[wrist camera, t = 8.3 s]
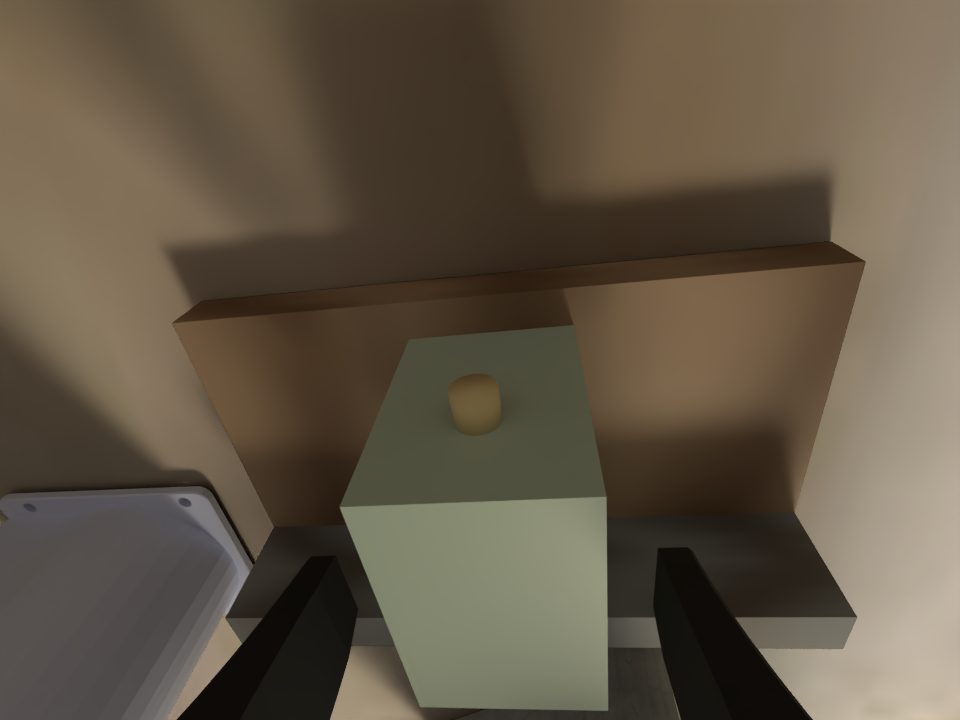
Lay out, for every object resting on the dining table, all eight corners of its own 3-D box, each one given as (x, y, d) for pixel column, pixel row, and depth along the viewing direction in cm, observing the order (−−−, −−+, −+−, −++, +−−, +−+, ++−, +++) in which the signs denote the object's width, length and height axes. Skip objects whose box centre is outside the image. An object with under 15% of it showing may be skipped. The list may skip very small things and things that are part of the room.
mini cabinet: (451, 514, 17) (419, 707, 12) (402, 313, 13) (325, 473, 8) (582, 509, 16) (608, 711, 11) (572, 297, 13) (606, 459, 7)
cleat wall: (302, 522, 20) (243, 644, 16) (201, 301, 15) (75, 394, 11) (766, 508, 18) (842, 648, 14) (831, 241, 13) (985, 331, 9)
